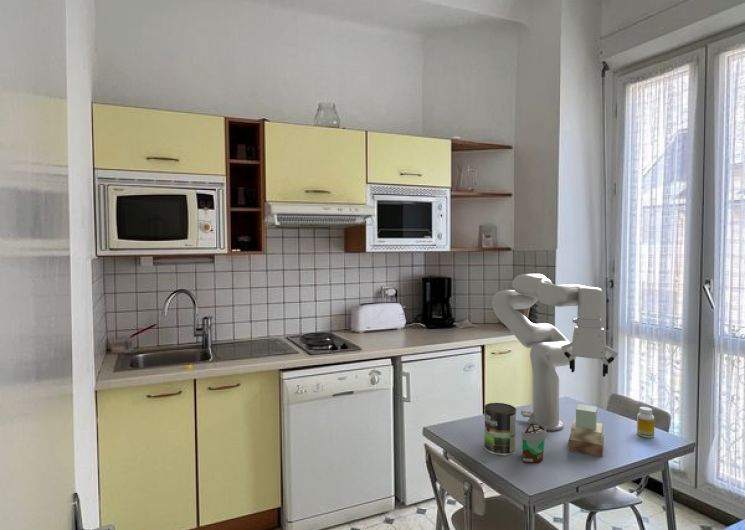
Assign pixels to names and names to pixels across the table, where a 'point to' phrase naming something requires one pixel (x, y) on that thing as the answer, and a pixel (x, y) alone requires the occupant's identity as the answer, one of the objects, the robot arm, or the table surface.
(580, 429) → the maple block
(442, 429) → the table surface
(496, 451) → the coffee can
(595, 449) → the walnut block
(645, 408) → the supplement bottle
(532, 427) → the food container
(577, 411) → the sage block
